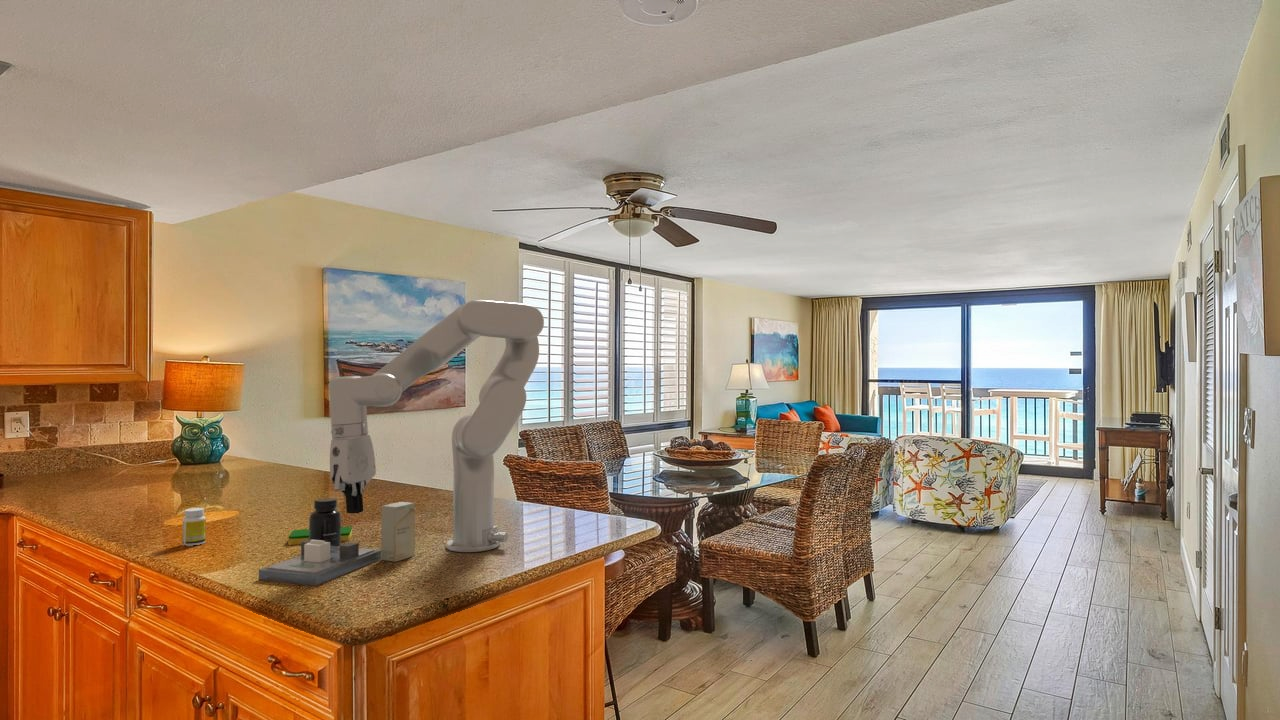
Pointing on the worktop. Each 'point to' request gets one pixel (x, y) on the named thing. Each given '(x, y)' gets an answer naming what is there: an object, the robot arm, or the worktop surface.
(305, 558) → the block
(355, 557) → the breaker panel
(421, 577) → the worktop surface
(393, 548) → the skincare box
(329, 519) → the supplement bottle
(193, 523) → the supplement bottle
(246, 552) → the worktop surface
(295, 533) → the dish sponge
